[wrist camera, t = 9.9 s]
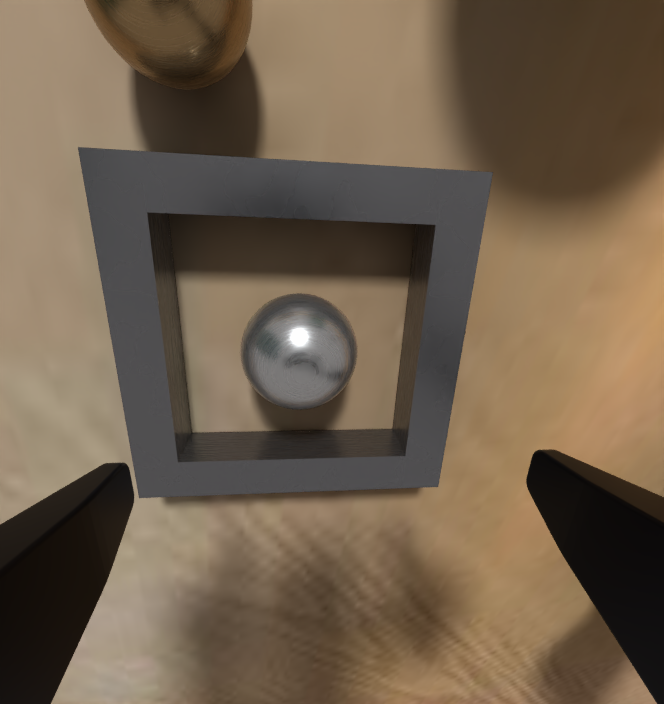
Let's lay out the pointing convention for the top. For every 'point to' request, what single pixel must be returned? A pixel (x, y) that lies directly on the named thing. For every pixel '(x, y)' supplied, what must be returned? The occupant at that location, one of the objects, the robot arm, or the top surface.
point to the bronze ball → (176, 37)
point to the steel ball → (298, 351)
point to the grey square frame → (294, 203)
